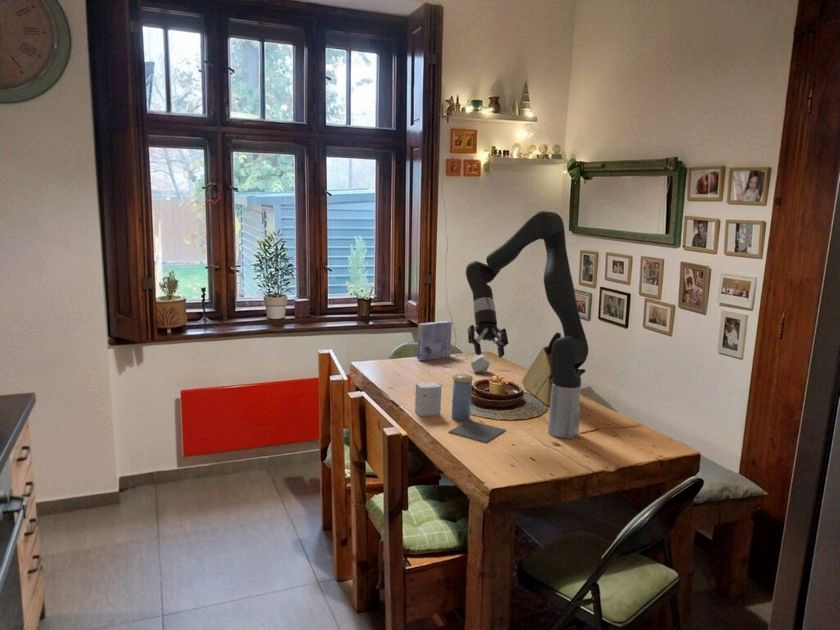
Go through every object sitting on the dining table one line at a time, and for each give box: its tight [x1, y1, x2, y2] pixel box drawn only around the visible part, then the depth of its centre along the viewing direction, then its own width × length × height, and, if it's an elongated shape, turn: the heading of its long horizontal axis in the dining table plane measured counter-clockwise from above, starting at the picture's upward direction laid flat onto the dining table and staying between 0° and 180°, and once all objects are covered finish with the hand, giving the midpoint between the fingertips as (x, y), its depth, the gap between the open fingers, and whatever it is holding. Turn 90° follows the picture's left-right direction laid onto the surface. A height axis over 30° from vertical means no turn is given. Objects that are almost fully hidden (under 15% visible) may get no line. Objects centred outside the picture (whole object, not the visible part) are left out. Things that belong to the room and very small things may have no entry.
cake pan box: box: [416, 320, 453, 362], centre depth 303 cm, size 19×5×18 cm, turn 130°
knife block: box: [522, 332, 588, 407], centre depth 245 cm, size 11×35×31 cm, turn 12°
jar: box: [451, 373, 473, 422], centre depth 220 cm, size 7×7×15 cm
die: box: [470, 354, 491, 374], centre depth 282 cm, size 8×9×10 cm
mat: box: [448, 419, 507, 444], centre depth 209 cm, size 14×14×1 cm
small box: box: [414, 381, 442, 417], centre depth 225 cm, size 8×6×10 cm
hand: (490, 355), depth 215 cm, fingers open, 8 cm apart
